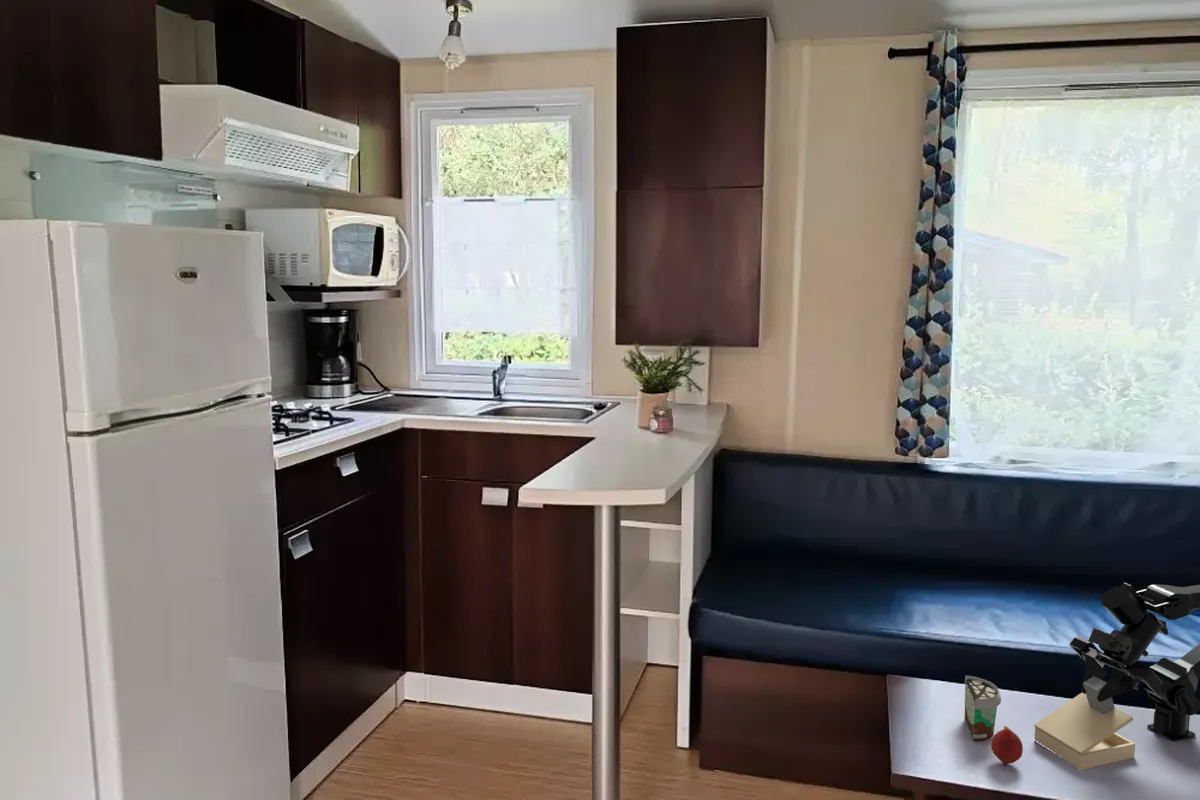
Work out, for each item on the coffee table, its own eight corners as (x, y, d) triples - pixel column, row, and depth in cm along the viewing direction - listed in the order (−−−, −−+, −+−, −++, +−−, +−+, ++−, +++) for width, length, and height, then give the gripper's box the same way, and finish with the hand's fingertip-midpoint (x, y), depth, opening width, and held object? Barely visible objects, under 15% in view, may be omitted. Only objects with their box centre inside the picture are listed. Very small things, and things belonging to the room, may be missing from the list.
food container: (1005, 747, 192) (1007, 702, 190) (974, 745, 193) (976, 699, 191) (992, 719, 204) (994, 676, 202) (963, 717, 205) (965, 674, 203)
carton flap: (1084, 694, 197) (1077, 667, 195) (1133, 719, 186) (1125, 691, 184) (1035, 727, 193) (1026, 700, 192) (1081, 755, 182) (1073, 727, 180)
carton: (1086, 730, 198) (1086, 716, 198) (1134, 757, 187) (1135, 743, 187) (1034, 741, 194) (1035, 728, 193) (1080, 770, 183) (1081, 756, 182)
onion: (1021, 760, 187) (1023, 722, 186) (1021, 774, 182) (1023, 736, 180) (990, 754, 189) (992, 717, 188) (989, 767, 184) (991, 730, 183)
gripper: (1078, 599, 197) (1034, 656, 195) (1155, 631, 180) (1108, 694, 178) (1104, 629, 201) (1062, 685, 199) (1182, 663, 183) (1137, 725, 181)
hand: (1090, 696), depth 189 cm, fingers closed on carton flap, 3 cm apart
